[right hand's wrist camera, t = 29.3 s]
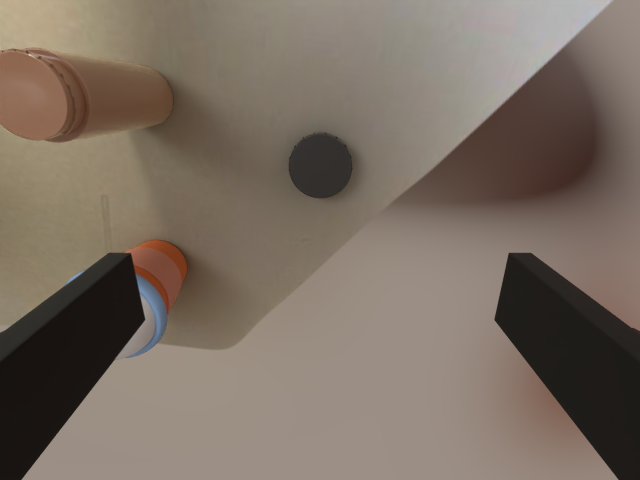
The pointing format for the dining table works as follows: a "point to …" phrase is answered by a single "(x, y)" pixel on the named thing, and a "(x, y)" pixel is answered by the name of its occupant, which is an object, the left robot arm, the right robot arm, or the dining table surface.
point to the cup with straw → (154, 291)
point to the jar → (77, 95)
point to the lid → (320, 165)
